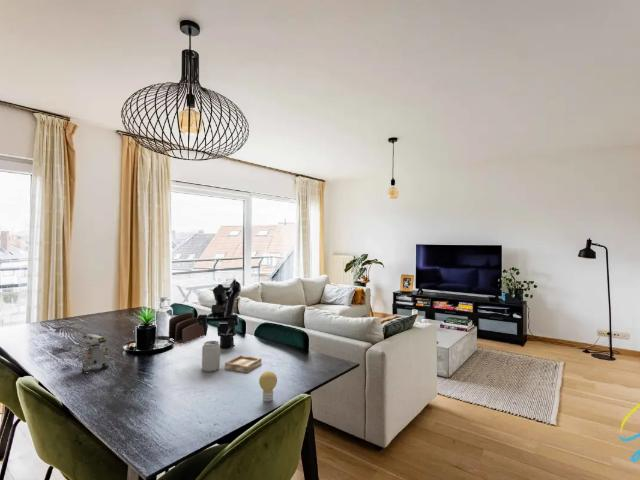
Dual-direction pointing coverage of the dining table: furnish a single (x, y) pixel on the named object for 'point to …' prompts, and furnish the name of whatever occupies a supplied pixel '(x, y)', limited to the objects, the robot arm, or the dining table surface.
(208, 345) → the can
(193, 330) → the letter holder
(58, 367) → the dining table surface
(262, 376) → the light bulb
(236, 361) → the wooden tray
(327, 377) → the dining table surface
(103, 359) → the figurine
